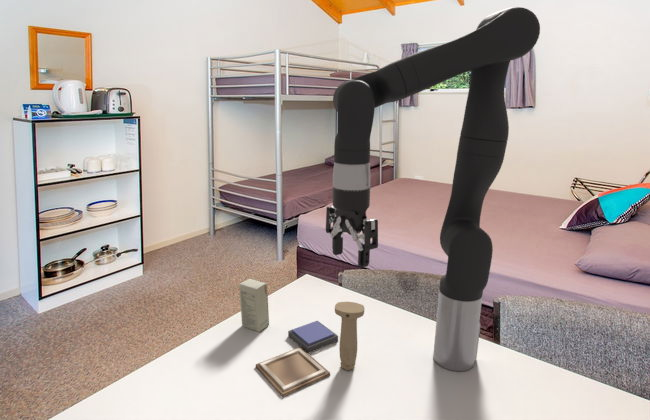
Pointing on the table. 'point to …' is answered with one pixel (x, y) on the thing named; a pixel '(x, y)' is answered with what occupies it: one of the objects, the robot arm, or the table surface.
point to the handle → (348, 332)
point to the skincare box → (254, 304)
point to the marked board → (292, 371)
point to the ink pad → (312, 336)
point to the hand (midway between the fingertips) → (349, 260)
